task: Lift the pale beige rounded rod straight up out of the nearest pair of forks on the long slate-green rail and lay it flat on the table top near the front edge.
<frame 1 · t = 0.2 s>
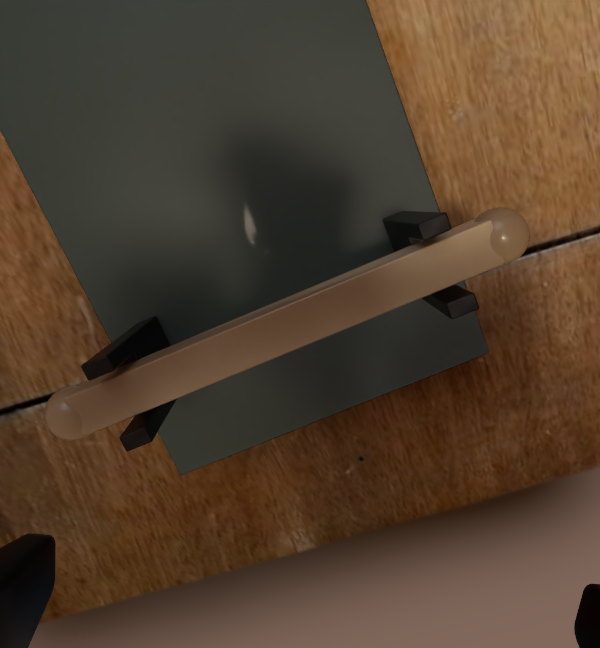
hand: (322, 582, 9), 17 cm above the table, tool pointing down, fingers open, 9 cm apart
beige rounded rod: (280, 322, 19), point 5 cm above the table, touching rack
rack: (282, 298, 24), on the table
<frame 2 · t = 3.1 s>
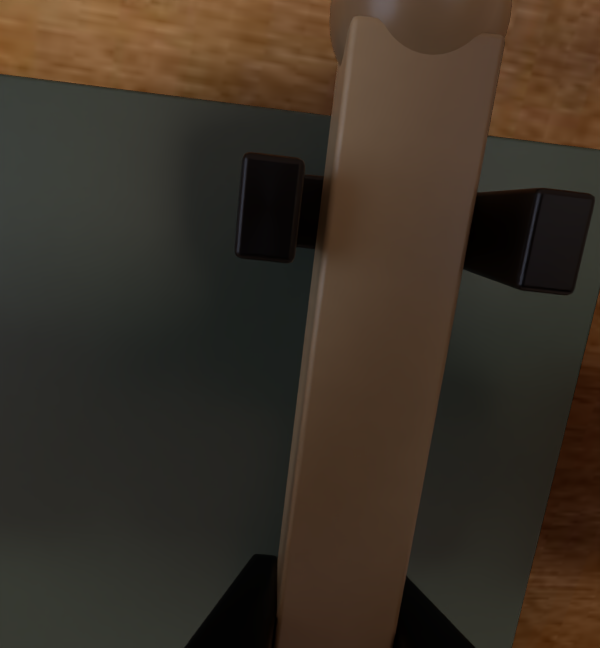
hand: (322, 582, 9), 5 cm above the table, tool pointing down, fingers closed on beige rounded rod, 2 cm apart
beige rounded rod: (322, 590, 8), point 5 cm above the table, touching gripper, rack
rack: (310, 446, 14), on the table
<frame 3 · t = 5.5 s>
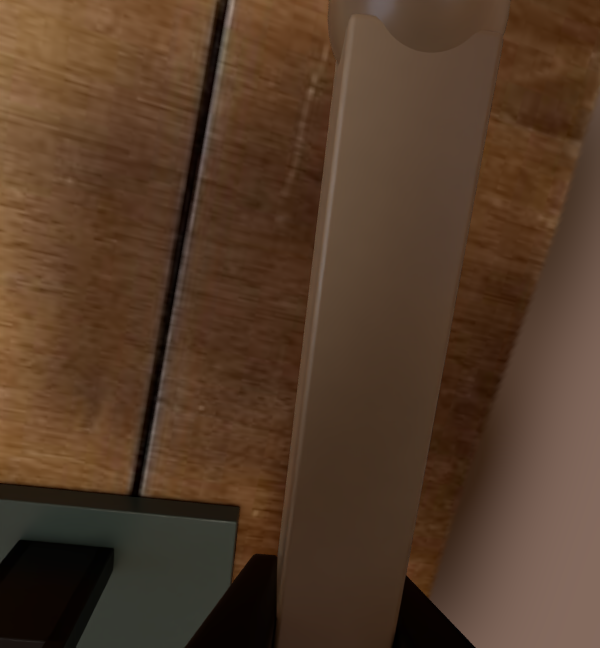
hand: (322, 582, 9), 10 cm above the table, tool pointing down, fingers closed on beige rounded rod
beige rounded rod: (322, 590, 8), point 10 cm above the table, touching gripper
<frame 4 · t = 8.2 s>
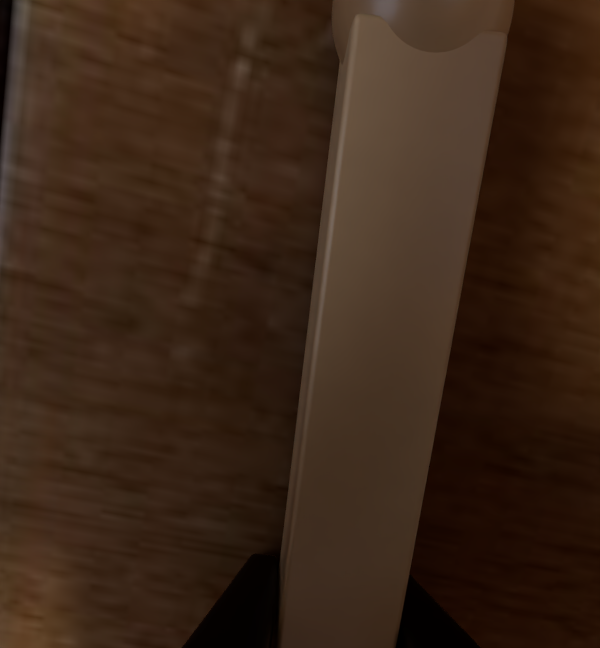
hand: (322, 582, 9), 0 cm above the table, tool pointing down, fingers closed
beige rounded rod: (325, 590, 8), on the table
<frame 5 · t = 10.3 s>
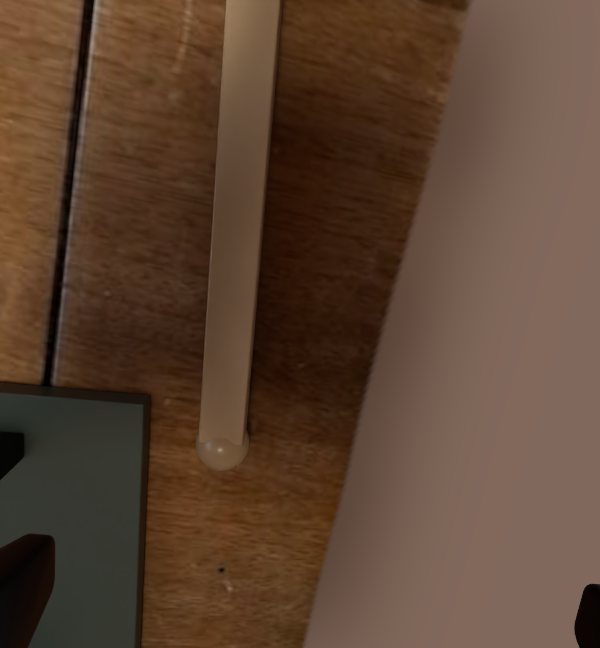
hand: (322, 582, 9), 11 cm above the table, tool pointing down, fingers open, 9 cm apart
beige rounded rod: (241, 216, 18), on the table
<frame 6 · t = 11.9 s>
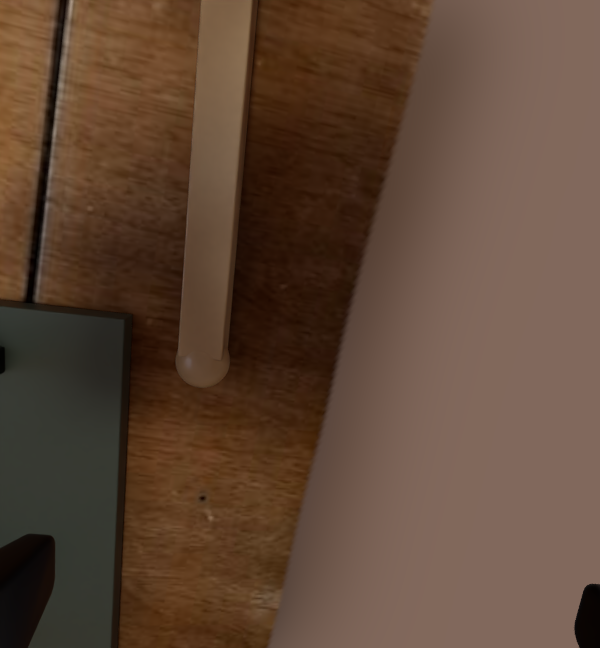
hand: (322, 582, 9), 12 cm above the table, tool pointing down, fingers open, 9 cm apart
beige rounded rod: (224, 129, 18), on the table
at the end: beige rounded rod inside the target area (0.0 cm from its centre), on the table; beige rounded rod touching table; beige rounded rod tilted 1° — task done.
